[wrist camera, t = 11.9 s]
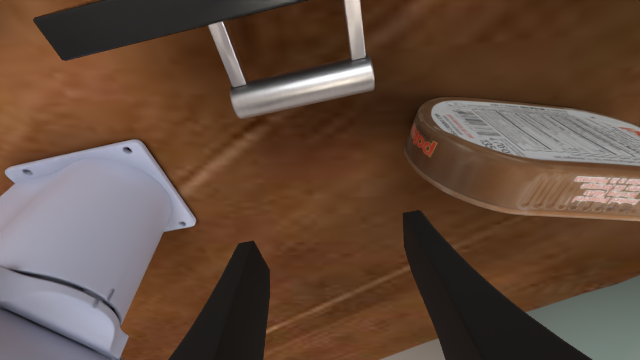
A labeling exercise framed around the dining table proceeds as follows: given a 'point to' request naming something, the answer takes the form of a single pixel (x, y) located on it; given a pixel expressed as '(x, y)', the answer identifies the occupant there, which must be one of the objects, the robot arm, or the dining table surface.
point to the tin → (528, 157)
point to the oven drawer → (214, 10)
